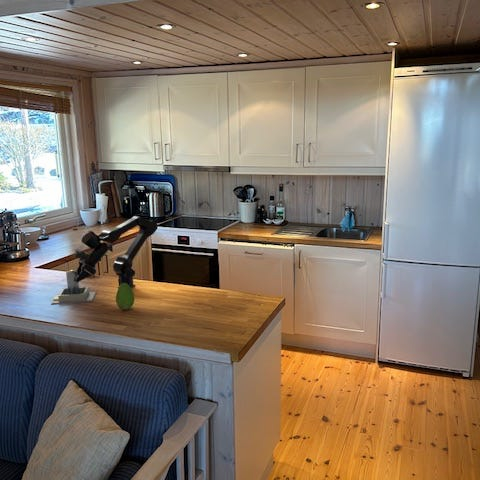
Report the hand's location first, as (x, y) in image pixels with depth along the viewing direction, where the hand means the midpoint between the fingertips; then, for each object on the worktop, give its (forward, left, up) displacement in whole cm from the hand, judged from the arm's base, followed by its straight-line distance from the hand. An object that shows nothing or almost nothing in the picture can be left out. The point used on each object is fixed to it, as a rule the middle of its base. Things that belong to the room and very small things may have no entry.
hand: (75, 279), depth 225 cm
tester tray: (+1, +1, -9) cm, 9 cm away
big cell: (+1, +1, -9) cm, 9 cm away
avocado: (-31, +6, -9) cm, 33 cm away
